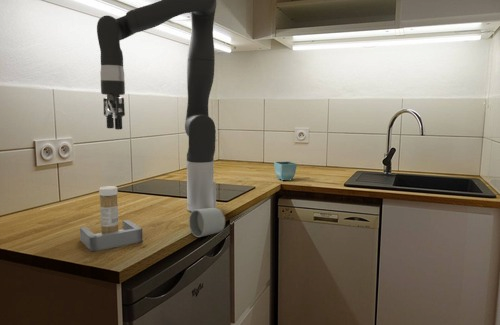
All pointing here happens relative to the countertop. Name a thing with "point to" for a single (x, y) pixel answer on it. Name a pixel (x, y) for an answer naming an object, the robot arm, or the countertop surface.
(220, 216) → the ceramic mug
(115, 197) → the sprinkles bottle
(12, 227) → the countertop surface
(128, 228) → the bay
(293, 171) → the flower pot
